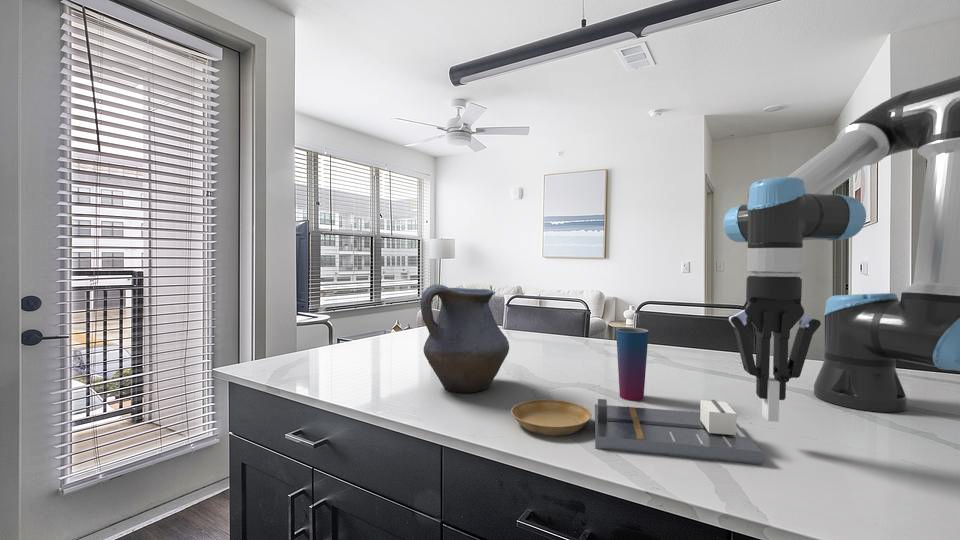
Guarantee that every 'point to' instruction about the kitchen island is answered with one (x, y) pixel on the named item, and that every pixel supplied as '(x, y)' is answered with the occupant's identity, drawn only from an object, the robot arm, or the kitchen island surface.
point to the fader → (718, 417)
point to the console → (669, 434)
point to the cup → (632, 362)
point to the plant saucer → (551, 416)
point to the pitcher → (463, 338)
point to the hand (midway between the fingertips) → (770, 418)
